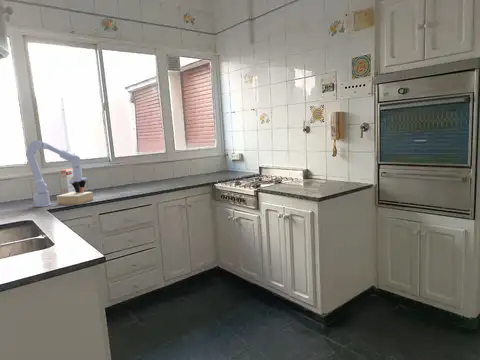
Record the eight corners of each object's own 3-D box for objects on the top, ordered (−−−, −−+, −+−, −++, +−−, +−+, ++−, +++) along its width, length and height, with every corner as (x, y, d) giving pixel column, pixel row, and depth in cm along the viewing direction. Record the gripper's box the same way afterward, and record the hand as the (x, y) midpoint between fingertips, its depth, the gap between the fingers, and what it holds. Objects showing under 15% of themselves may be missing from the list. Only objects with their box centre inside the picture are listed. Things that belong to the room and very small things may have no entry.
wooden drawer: (58, 204, 227) (57, 197, 227) (73, 199, 241) (72, 192, 240) (78, 204, 223) (77, 197, 222) (93, 199, 236) (92, 192, 235)
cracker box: (69, 197, 250) (65, 170, 247) (62, 197, 252) (58, 170, 248) (81, 193, 264) (78, 167, 261) (75, 194, 265) (71, 168, 262)
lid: (56, 196, 227) (55, 190, 226) (72, 192, 240) (71, 187, 240) (77, 196, 222) (76, 190, 221) (92, 192, 235) (92, 186, 235)
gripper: (74, 174, 226) (77, 193, 228) (89, 171, 239) (91, 189, 241) (66, 174, 227) (68, 193, 230) (81, 171, 241) (83, 189, 243)
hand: (80, 191), depth 236 cm, fingers open, 4 cm apart
